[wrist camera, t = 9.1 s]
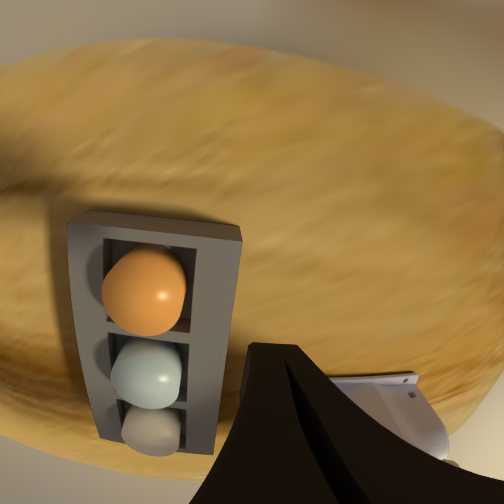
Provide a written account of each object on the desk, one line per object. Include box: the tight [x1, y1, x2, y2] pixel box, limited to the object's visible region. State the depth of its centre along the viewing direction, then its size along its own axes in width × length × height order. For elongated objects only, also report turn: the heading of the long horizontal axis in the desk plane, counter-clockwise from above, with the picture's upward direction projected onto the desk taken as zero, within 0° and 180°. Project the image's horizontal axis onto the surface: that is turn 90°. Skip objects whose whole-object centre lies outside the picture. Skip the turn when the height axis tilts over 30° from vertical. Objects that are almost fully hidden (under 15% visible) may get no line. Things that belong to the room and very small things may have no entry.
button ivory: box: [121, 403, 182, 456], centre depth 18 cm, size 4×4×3 cm
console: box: [67, 210, 243, 455], centre depth 18 cm, size 9×17×3 cm, turn 171°
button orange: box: [102, 243, 188, 336], centre depth 15 cm, size 4×4×3 cm
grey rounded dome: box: [110, 336, 183, 409], centre depth 17 cm, size 4×4×3 cm
